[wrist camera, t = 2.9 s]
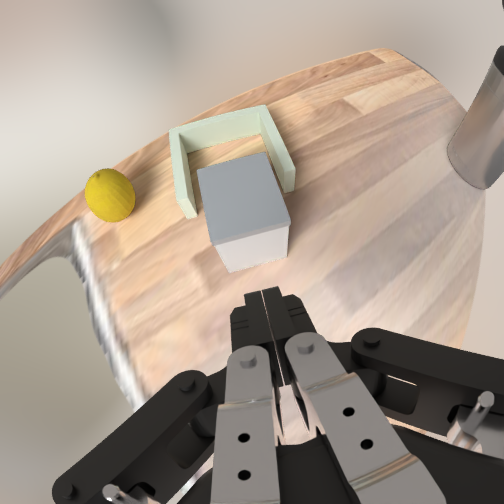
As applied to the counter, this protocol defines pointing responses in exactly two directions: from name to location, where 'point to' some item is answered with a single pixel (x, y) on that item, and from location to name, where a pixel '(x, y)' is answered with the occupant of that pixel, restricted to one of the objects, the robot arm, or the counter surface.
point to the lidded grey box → (245, 212)
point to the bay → (222, 132)
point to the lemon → (110, 195)
